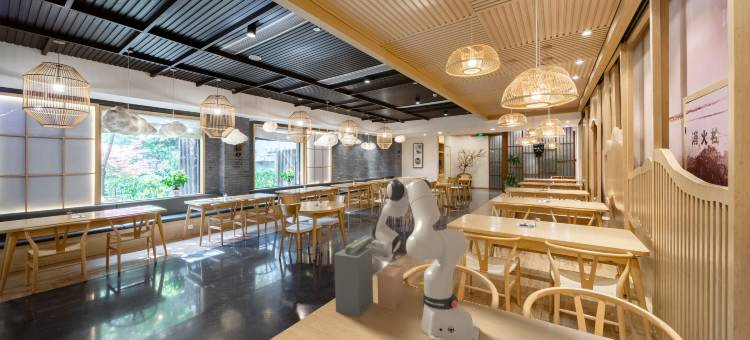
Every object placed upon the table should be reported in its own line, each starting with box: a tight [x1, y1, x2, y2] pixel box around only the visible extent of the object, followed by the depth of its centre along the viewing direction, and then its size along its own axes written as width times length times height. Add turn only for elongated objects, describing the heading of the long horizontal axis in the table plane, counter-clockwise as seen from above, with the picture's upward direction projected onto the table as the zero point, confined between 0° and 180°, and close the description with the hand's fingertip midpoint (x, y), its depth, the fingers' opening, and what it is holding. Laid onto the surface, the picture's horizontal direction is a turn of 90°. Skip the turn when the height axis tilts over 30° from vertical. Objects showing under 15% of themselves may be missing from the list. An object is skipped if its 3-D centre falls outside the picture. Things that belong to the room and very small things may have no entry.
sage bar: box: [344, 235, 373, 254], centre depth 134 cm, size 4×19×3 cm, turn 155°
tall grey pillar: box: [333, 247, 374, 318], centre depth 130 cm, size 12×14×26 cm
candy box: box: [418, 281, 454, 301], centre depth 135 cm, size 16×2×8 cm, turn 88°
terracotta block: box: [376, 263, 405, 311], centre depth 133 cm, size 8×12×16 cm, turn 155°
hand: (366, 242), depth 141 cm, fingers open, 8 cm apart
